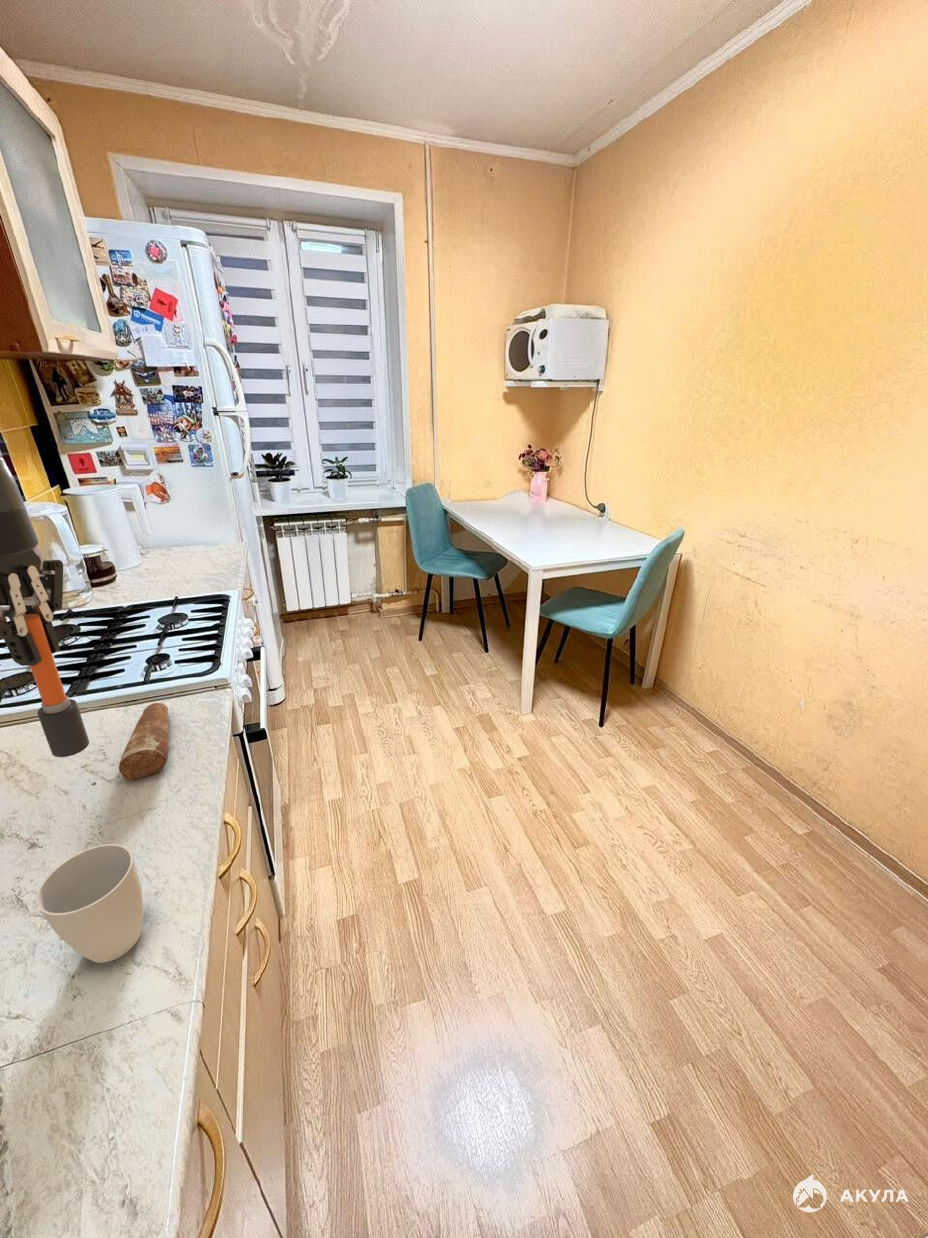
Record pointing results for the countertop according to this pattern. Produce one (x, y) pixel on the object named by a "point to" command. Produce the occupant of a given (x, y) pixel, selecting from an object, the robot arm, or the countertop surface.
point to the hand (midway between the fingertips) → (40, 657)
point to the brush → (55, 699)
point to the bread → (147, 744)
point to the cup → (95, 902)
